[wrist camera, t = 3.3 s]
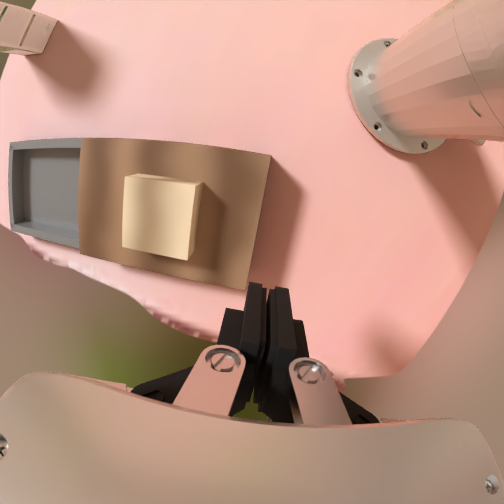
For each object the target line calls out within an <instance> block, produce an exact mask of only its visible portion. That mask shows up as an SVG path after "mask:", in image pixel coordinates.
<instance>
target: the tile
mask: <svg viewBox="0 0 504 504" xmlns="http://www.w3.org/2000/svg"><path fill="white" fill-rule="evenodd" d="M202 188H203V182H200V181H193V180H186V179H179V178H171V177H164V176H155V175H147V174H134V175H130V176H125V182H124V197H123V220H122V247H125V248H130V249H134V250H139V251H144V252H148V253H153V254H158V255H163V256H167V257H172V258H177V259H182V260H188V259H189V257H190V256H191V255H192V253H193V252H194V250H195V244H196V235H197V226H198V218H199V210H200V202H201V195H202Z"/></svg>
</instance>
